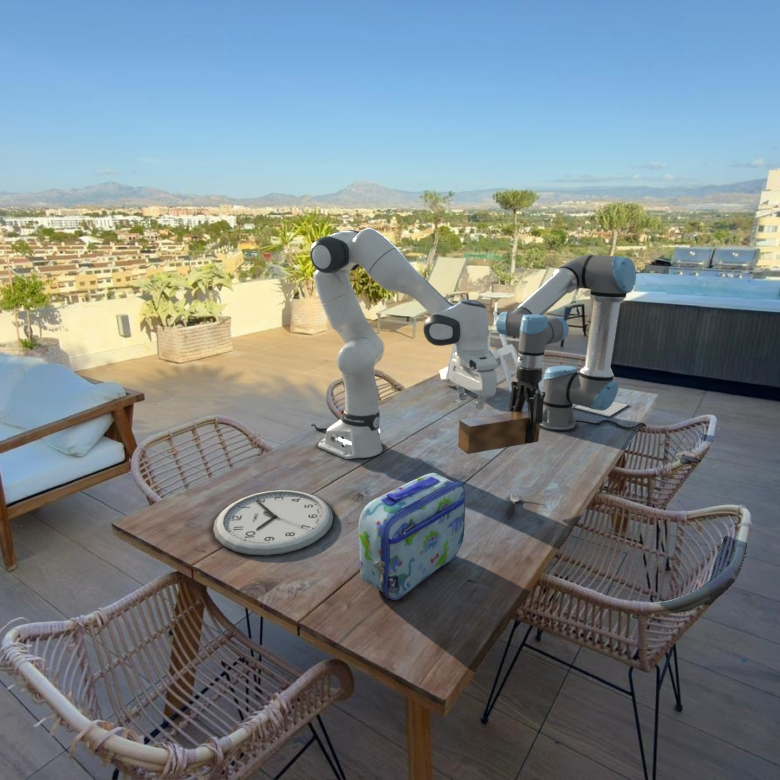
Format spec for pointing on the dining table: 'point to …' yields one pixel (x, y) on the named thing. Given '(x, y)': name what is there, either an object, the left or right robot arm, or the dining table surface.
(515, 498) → the fork
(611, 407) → the invitation card
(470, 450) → the bar
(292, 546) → the wall clock
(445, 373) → the white plastic object
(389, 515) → the lunch box
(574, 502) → the dining table surface
